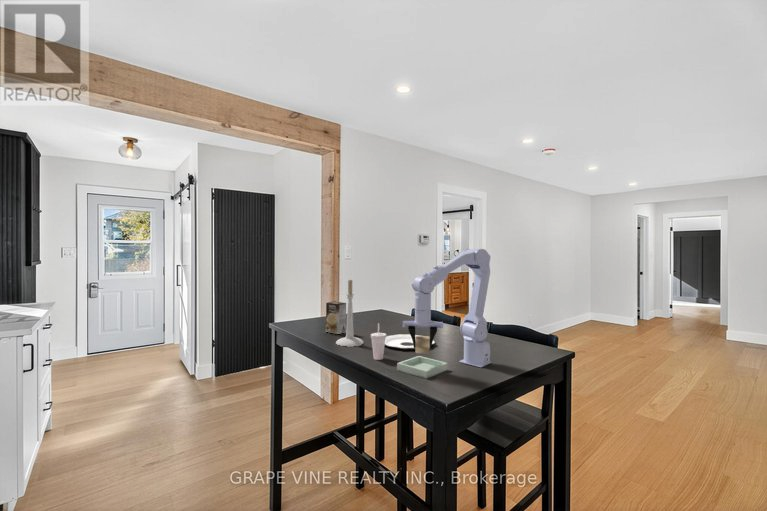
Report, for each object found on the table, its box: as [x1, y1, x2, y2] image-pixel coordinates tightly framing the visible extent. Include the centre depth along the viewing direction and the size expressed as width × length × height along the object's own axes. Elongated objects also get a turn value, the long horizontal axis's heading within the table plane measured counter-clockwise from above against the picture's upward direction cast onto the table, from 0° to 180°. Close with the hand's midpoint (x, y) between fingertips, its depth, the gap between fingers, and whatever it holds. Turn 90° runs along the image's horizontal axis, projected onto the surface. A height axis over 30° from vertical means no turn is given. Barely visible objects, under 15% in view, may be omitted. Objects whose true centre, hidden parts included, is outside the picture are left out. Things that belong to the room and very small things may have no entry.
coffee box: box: [325, 301, 347, 335], centre depth 186 cm, size 9×6×16 cm
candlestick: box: [335, 279, 364, 348], centre depth 165 cm, size 13×13×30 cm
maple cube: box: [414, 335, 431, 355], centre depth 128 cm, size 5×5×5 cm
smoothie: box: [370, 322, 387, 361], centre depth 142 cm, size 6×6×14 cm
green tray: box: [396, 355, 449, 380], centre depth 128 cm, size 13×13×2 cm
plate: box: [385, 333, 436, 351], centre depth 165 cm, size 25×25×2 cm
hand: (422, 347), depth 128 cm, fingers closed on maple cube, 5 cm apart
